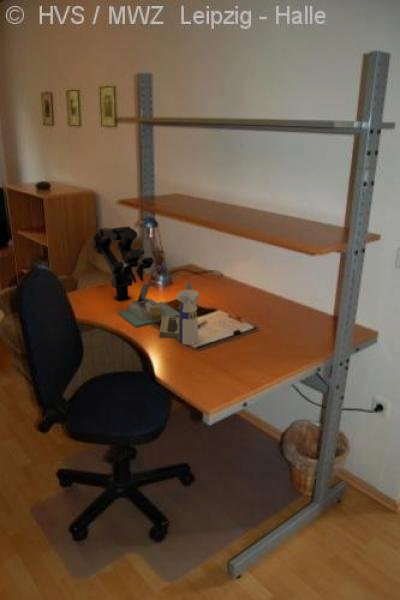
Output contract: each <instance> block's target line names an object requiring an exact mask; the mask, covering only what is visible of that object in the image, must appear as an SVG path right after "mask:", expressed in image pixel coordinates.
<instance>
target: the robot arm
mask: <svg viewBox="0 0 400 600" xmlns="http://www.w3.org/2000/svg"><path fill="white" fill-rule="evenodd" d="M137 237H138V232H137V231H136V230H135V229H133V228H131V227H130V226H122V227H121V226H120V227H113V228H108V227H104V228H99V229H98V230H97V233H96V234H95V235H94V236H93V238H92V242H91V246H92V248H93V249H94V251H95V252H96V254H97V253H98V254H99V255H102V257H103V259H104V261H106V264H107V265H108V266H109V268H110V272H111V274H112V279H111V281H110V284H111V287H112V288H114V289H115V295H113V298H114V299H116V301H118V302H122V301H126V300H131V299H132V297H131V296H130V295H129V287H130V286H132V285H133V283H134V284H136V283H137V279H136V277H135V274H134V272H133V269H132V268H136V274H137V276H138V278H139V280H140V281H141V282H142V283H143V282H144V270H146V269H150V268H151V267H152V265H153V263H154V262H155V261H154V258H153V257H152V256H146V257H143V258H142V260H141V261H139V260H140V259H141V257H142V256H143V255H145V250H144V248H143V247H142V246H141V247H138V248H137V249H133V245H134V243H135V241H136V240H137ZM112 241H114V242H116V241H117V246H116V249H117V250H119V253H120V255H121V260H122V261H123V262H122V261H119V260H118V259H117V256H116V255H115V254H114V252H113V250H112V249H111V248H112V247H111V246H112Z"/></svg>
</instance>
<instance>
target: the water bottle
mask: <svg viewBox="0 0 400 600" xmlns="http://www.w3.org/2000/svg"><path fill="white" fill-rule="evenodd" d="M184 286H185V288H186V289H182V290H180V291H178V293H177V295H176V299H177V301H179V302H180V304H179V307H178V310H179V313H180V317H178V318H179V338H178V343H180V344H181V345H189V346H190V344H191V345H193V344H192V343H195V344H197V343H198V342H199V326H198V323H199V322H198V320H199V319H198V313H197V312H198V311H197V310H198V306H197V303H198V302H199V301H200V295H199V292H198V291H197V290H194V289H192V287H193V286H194V284H191V283H190V281H188V282H187V284H184ZM197 341H198V342H197ZM196 342H197V343H196Z"/></svg>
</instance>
